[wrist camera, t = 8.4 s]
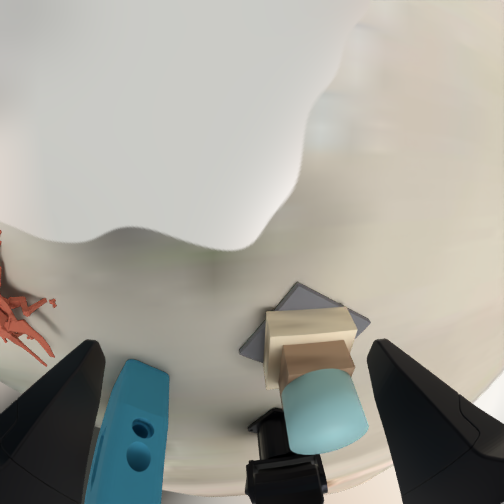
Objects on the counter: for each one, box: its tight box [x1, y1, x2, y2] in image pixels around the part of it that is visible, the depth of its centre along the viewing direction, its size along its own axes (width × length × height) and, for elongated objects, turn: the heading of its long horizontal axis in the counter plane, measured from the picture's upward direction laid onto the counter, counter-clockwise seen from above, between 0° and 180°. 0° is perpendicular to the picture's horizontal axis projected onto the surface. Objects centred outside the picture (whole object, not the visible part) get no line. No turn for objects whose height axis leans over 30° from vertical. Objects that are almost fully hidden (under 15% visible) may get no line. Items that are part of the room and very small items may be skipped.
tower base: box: [263, 307, 358, 390], centre depth 24 cm, size 7×7×3 cm
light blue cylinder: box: [281, 369, 369, 455], centre depth 18 cm, size 6×6×4 cm
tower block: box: [278, 340, 355, 410], centre depth 21 cm, size 5×5×3 cm
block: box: [85, 359, 169, 504], centre depth 20 cm, size 12×5×20 cm, turn 146°
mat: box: [239, 282, 371, 363], centre depth 26 cm, size 9×9×1 cm
